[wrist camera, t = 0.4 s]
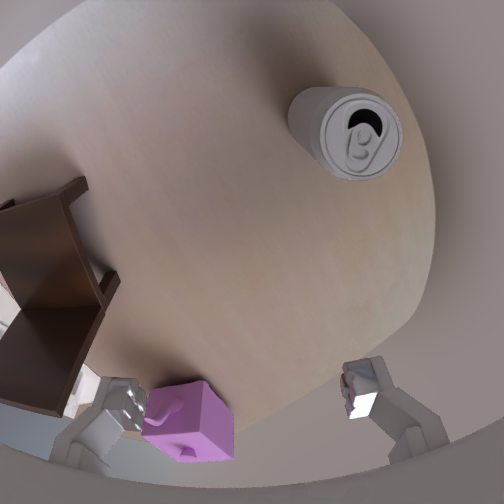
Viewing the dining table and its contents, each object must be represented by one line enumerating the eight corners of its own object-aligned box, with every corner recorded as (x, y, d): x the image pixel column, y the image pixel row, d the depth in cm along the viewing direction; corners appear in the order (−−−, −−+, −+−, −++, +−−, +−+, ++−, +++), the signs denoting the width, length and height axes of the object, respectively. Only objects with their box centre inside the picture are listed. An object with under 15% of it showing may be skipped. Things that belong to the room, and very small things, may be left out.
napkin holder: (80, 405, 52) (73, 425, 47) (41, 373, 47) (31, 394, 42) (122, 395, 49) (115, 419, 44) (78, 358, 44) (67, 383, 39)
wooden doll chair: (6, 201, 29) (-96, 289, 12) (85, 175, 29) (-39, 280, 12) (43, 290, 37) (-23, 395, 19) (121, 283, 36) (61, 418, 19)
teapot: (239, 413, 52) (239, 472, 41) (192, 421, 53) (187, 475, 42) (187, 350, 42) (176, 424, 31) (133, 362, 44) (114, 428, 33)
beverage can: (354, 95, 26) (417, 104, 15) (342, 155, 29) (394, 194, 19) (292, 80, 25) (324, 75, 15) (281, 143, 28) (304, 177, 18)
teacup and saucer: (-15, 324, 41) (-25, 337, 37) (-3, 312, 39) (-14, 326, 35) (13, 354, 45) (5, 368, 41) (28, 346, 43) (19, 361, 39)
